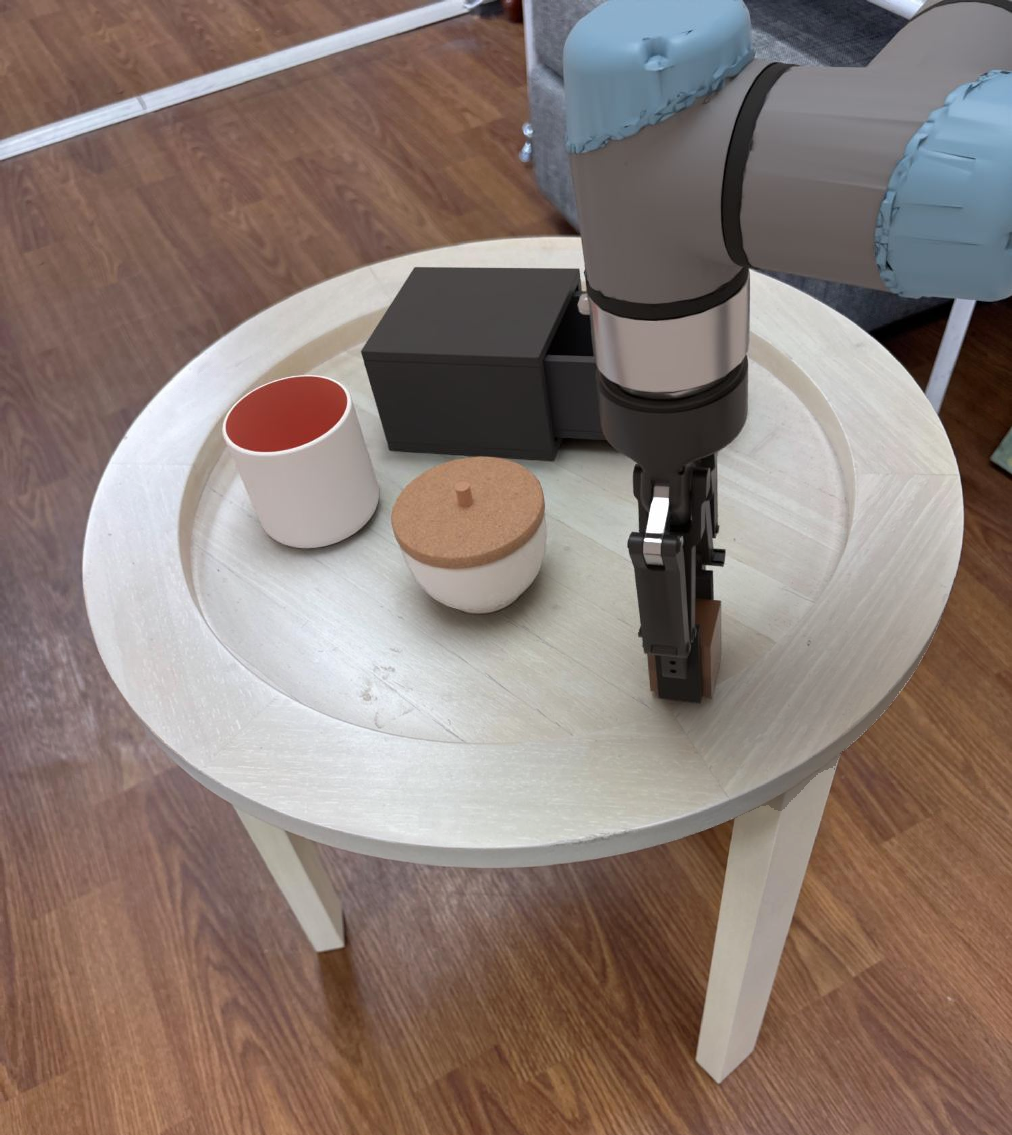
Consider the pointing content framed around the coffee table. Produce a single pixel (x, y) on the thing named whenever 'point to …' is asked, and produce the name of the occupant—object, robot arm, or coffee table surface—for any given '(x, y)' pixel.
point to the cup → (303, 460)
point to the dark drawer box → (469, 360)
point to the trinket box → (472, 532)
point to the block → (702, 645)
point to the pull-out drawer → (573, 377)
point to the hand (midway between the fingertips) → (687, 668)
